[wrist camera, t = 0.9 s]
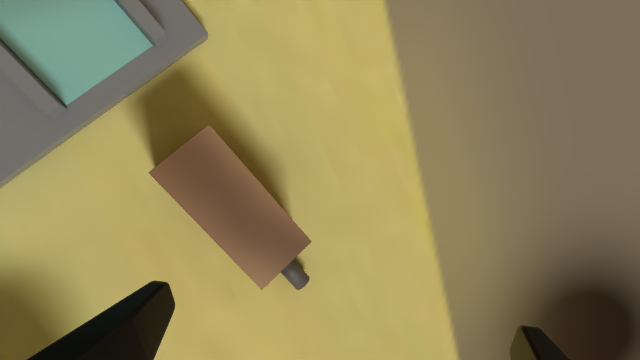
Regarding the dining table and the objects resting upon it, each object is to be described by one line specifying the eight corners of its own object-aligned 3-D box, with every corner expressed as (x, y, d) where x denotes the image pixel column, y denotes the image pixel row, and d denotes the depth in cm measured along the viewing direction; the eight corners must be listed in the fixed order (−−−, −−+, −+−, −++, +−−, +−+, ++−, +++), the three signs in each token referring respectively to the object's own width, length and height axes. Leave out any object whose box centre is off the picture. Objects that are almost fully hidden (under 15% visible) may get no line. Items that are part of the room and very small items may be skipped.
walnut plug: (279, 301, 25) (294, 323, 21) (156, 172, 22) (148, 172, 18) (320, 260, 26) (341, 275, 22) (206, 132, 23) (208, 124, 19)
